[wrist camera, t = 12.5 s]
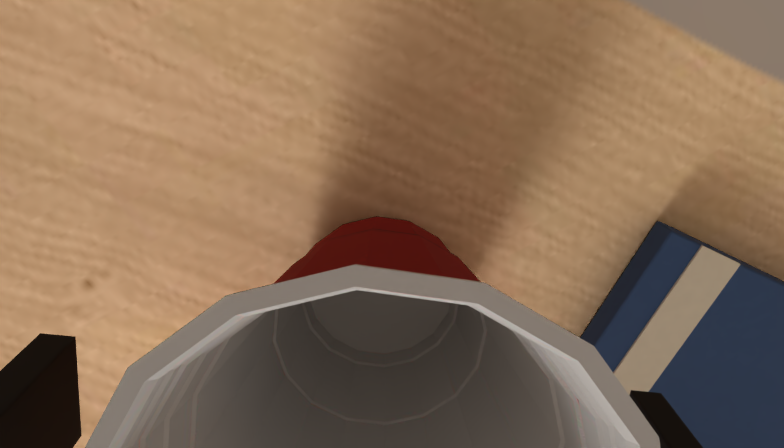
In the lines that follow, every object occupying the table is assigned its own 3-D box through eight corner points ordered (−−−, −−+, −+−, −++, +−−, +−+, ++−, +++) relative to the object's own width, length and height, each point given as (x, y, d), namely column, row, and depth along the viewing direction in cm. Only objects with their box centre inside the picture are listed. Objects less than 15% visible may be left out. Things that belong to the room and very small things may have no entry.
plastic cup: (530, 129, 19) (730, 270, 8) (522, 398, 23) (654, 759, 12) (213, 145, 20) (-26, 305, 8) (253, 410, 23) (124, 781, 12)
